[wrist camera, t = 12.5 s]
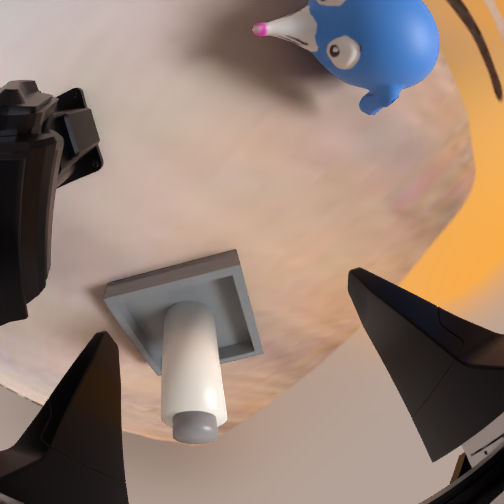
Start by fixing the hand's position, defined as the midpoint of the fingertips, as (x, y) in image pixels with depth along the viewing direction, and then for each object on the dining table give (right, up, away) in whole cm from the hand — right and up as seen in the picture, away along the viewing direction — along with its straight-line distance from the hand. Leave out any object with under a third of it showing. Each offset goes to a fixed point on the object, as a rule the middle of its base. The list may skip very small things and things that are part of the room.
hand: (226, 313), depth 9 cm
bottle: (-5, -4, +17) cm, 18 cm away
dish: (-5, -4, +17) cm, 18 cm away
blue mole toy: (+6, +18, +6) cm, 19 cm away
